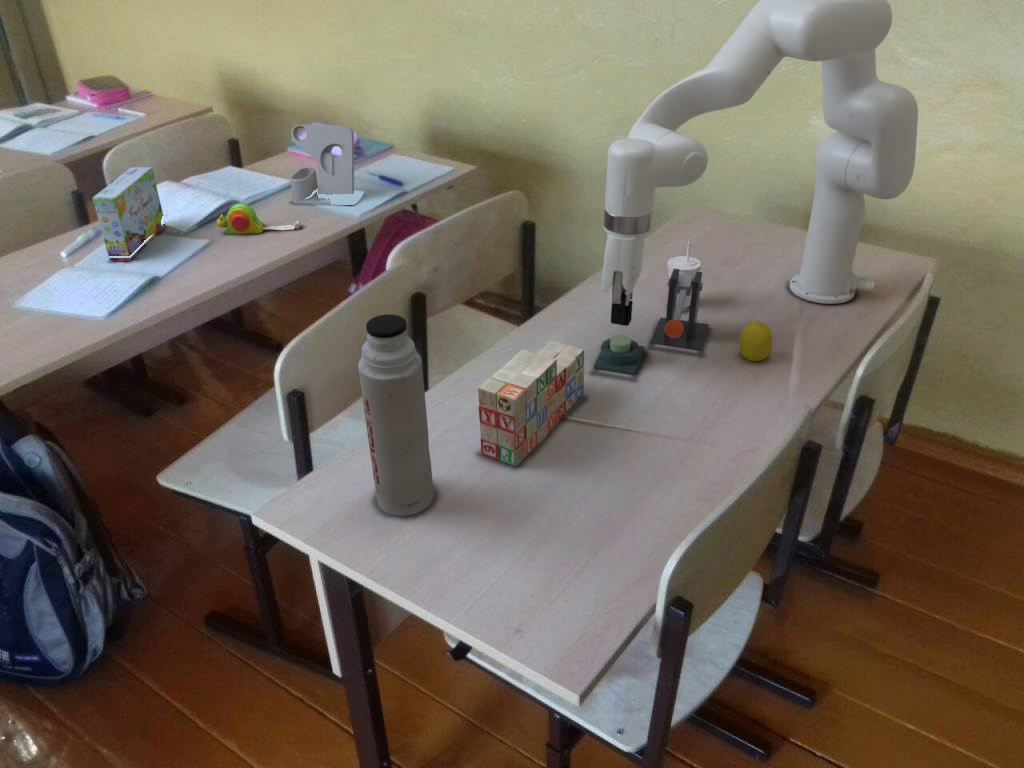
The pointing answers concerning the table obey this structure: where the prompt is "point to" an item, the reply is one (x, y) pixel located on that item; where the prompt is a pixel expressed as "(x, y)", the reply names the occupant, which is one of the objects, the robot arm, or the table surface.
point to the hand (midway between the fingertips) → (620, 322)
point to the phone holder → (324, 163)
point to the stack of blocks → (528, 400)
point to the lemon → (755, 341)
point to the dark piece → (619, 359)
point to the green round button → (620, 344)
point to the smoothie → (684, 269)
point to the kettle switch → (679, 306)
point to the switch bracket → (692, 329)
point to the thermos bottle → (396, 417)
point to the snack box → (129, 212)
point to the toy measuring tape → (247, 221)
